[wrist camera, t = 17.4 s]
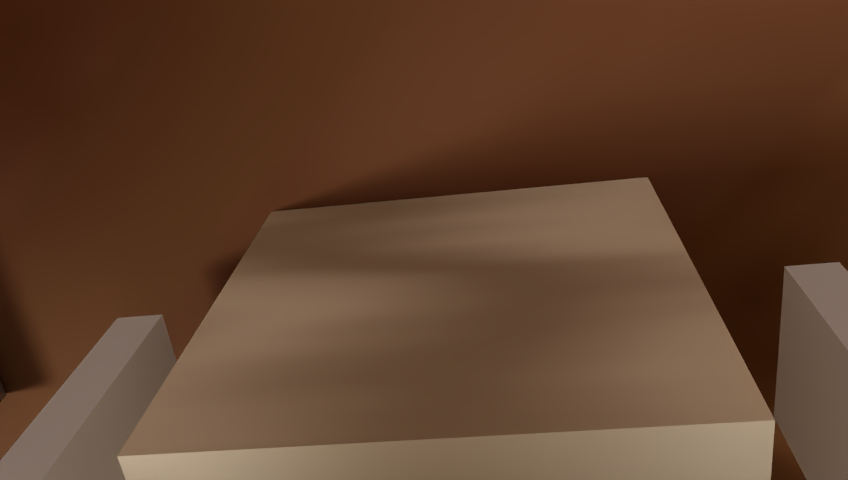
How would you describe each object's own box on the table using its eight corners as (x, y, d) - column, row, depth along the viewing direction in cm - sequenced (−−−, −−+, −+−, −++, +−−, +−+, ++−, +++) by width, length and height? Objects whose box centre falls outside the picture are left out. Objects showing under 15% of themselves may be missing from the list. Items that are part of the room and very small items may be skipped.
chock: (326, 451, 15) (236, 780, 10) (272, 210, 13) (116, 455, 7) (649, 433, 14) (748, 779, 9) (646, 175, 12) (775, 420, 7)
